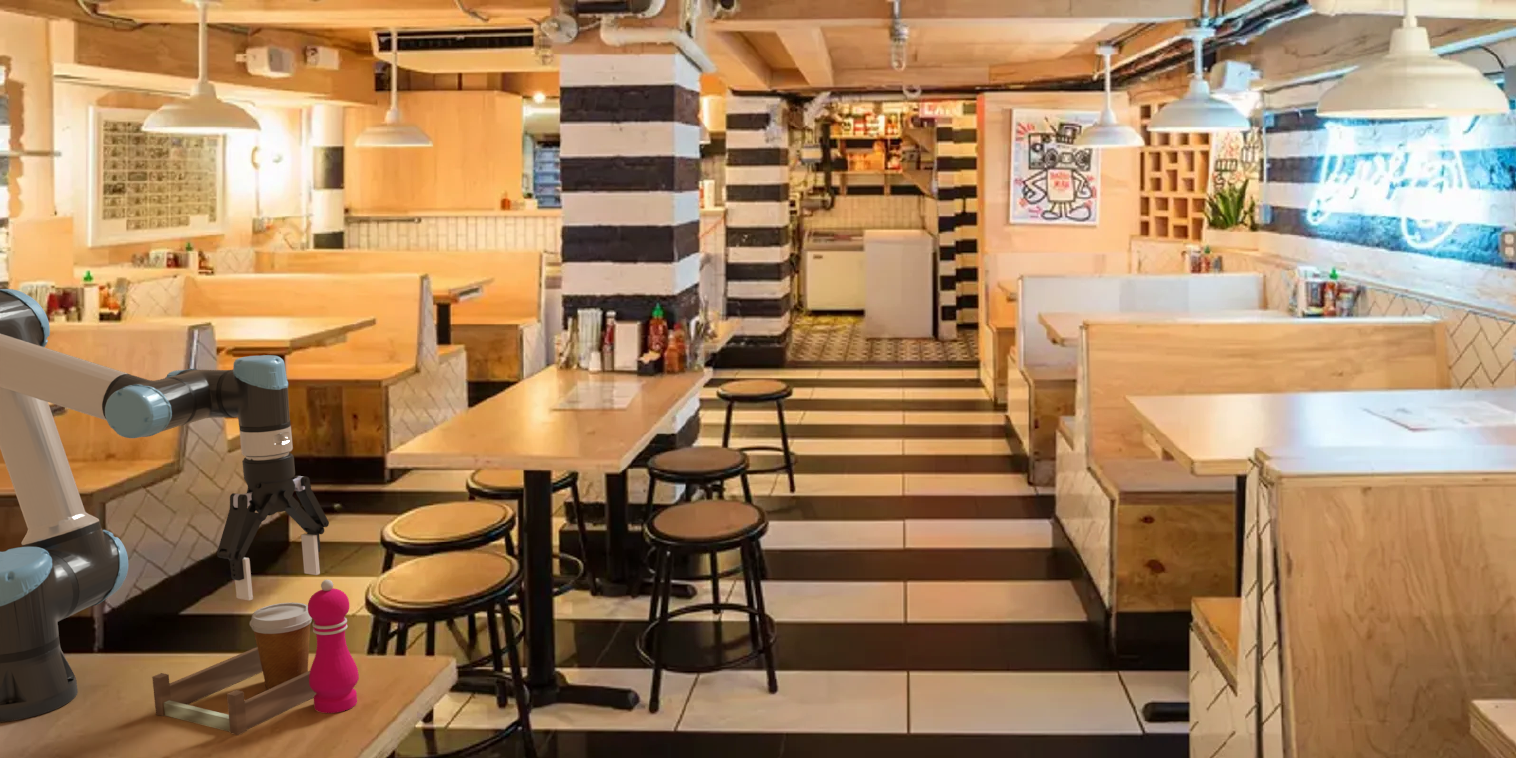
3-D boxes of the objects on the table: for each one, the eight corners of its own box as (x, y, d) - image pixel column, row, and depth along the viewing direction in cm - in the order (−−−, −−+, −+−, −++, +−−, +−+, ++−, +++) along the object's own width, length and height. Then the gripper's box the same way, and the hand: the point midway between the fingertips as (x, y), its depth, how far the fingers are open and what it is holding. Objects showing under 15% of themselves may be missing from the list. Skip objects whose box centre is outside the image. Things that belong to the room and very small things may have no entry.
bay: (155, 714, 191) (152, 676, 190) (262, 667, 209) (259, 633, 208) (238, 735, 183) (234, 695, 182) (341, 684, 201) (338, 648, 200)
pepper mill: (337, 692, 198) (328, 570, 195) (370, 701, 195) (362, 576, 192) (300, 709, 192) (290, 583, 189) (334, 718, 189) (324, 590, 185)
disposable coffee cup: (297, 696, 197) (291, 623, 195) (242, 692, 199) (236, 619, 197) (329, 673, 206) (324, 603, 204) (276, 669, 208) (271, 600, 206)
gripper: (218, 473, 184) (231, 613, 187) (344, 441, 206) (354, 566, 209) (183, 469, 187) (196, 606, 191) (311, 438, 209) (321, 561, 213)
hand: (279, 586), depth 200 cm, fingers open, 13 cm apart
